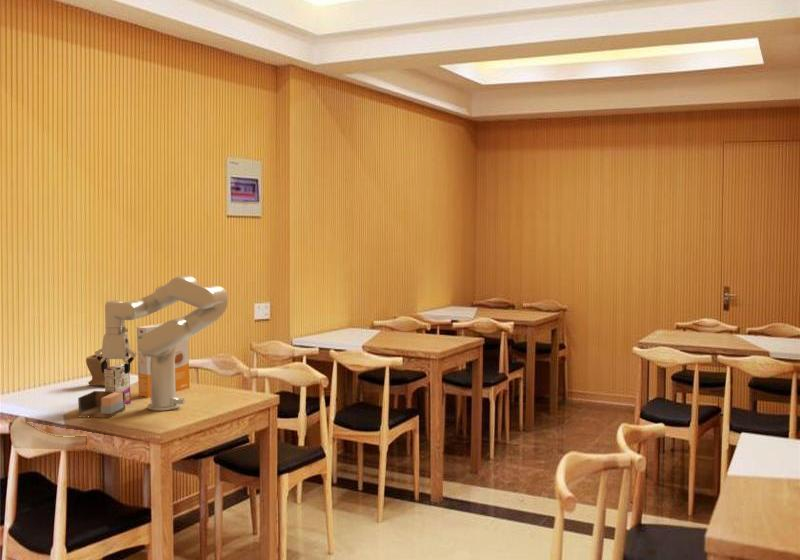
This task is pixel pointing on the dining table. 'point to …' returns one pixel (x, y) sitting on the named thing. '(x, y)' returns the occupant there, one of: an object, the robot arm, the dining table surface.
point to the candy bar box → (117, 381)
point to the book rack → (101, 404)
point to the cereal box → (144, 361)
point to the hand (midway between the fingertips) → (115, 372)
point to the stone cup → (96, 370)
